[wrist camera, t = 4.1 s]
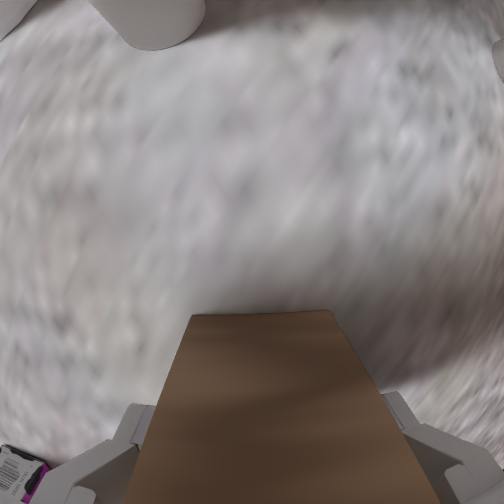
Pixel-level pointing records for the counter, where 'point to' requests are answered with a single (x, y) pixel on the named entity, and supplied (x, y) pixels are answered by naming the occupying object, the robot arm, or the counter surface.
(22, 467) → the candy bar box
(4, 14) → the foam cup
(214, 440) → the block
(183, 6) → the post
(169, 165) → the counter surface
